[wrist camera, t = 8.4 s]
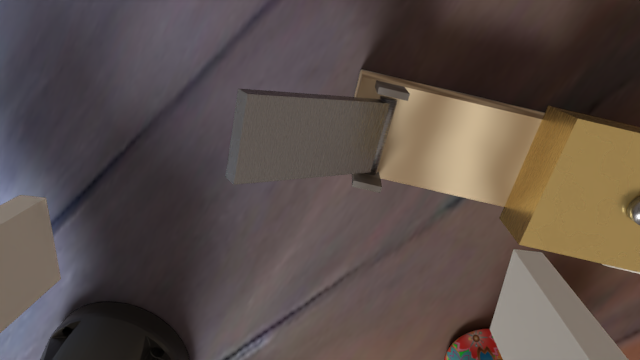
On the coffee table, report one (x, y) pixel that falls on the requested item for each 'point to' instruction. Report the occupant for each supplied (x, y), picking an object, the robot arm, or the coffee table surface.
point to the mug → (474, 347)
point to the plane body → (449, 140)
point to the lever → (306, 135)
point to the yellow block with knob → (579, 190)
